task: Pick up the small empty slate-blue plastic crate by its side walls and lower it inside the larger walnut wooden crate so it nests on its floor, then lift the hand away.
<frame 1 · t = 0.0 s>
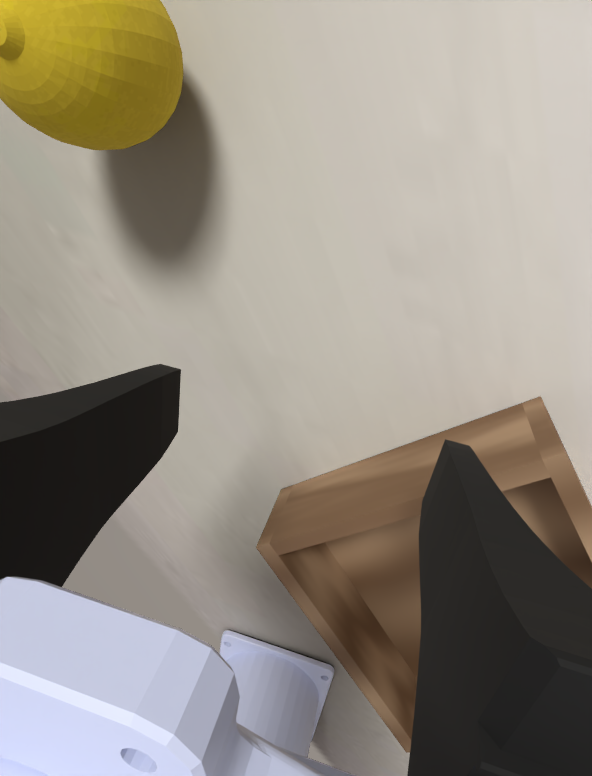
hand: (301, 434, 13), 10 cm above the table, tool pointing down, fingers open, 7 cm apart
big crate: (462, 563, 26), on the table
lemon: (154, 72, 19), on the table
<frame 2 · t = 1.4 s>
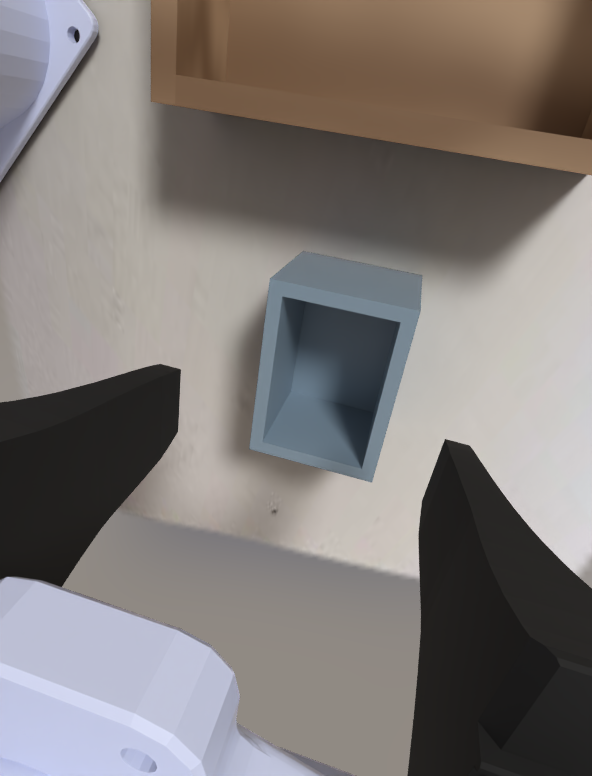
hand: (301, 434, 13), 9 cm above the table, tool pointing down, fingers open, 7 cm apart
small crate: (345, 339, 22), on the table
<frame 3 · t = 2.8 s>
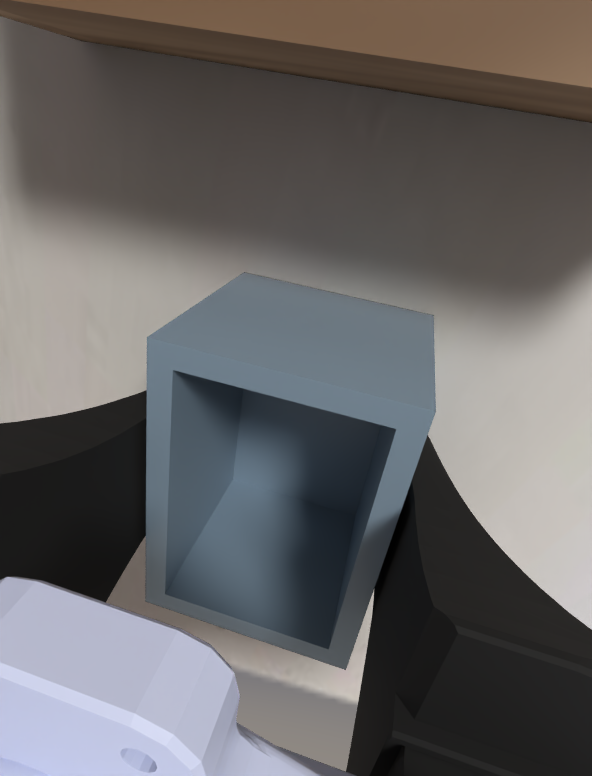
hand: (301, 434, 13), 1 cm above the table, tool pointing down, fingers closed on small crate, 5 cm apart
small crate: (312, 408, 14), on the table, touching gripper
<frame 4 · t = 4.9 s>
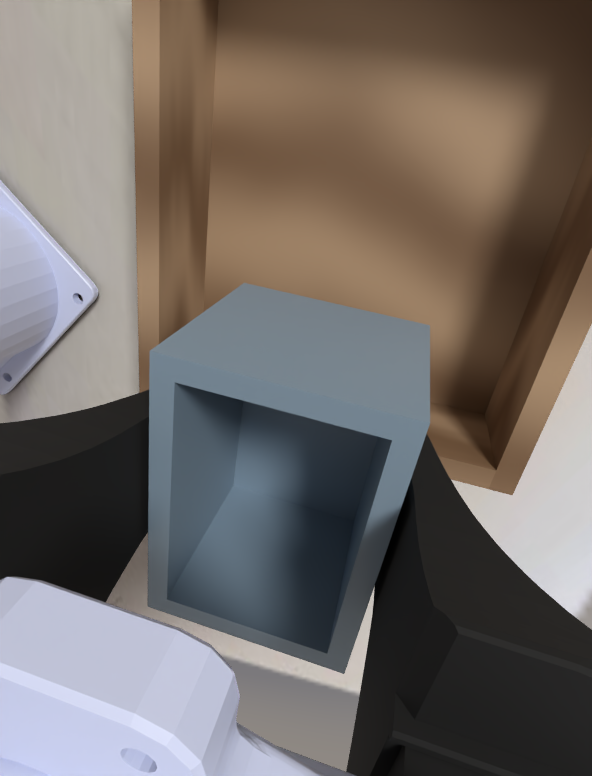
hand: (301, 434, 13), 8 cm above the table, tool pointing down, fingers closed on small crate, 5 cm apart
big crate: (374, 200, 18), on the table
small crate: (311, 415, 14), point 7 cm above the table, touching gripper
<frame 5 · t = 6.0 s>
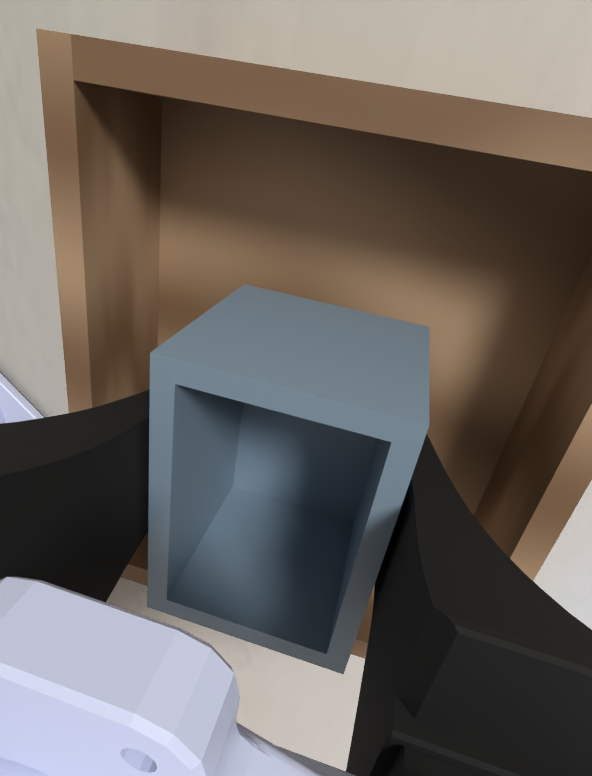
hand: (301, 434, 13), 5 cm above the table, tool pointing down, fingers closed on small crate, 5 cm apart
big crate: (330, 367, 17), on the table
small crate: (311, 416, 14), point 3 cm above the table, touching gripper
when the fingers open (3 cm above the table, at t = 6.8 s): small crate stays where it is, resting on big crate.
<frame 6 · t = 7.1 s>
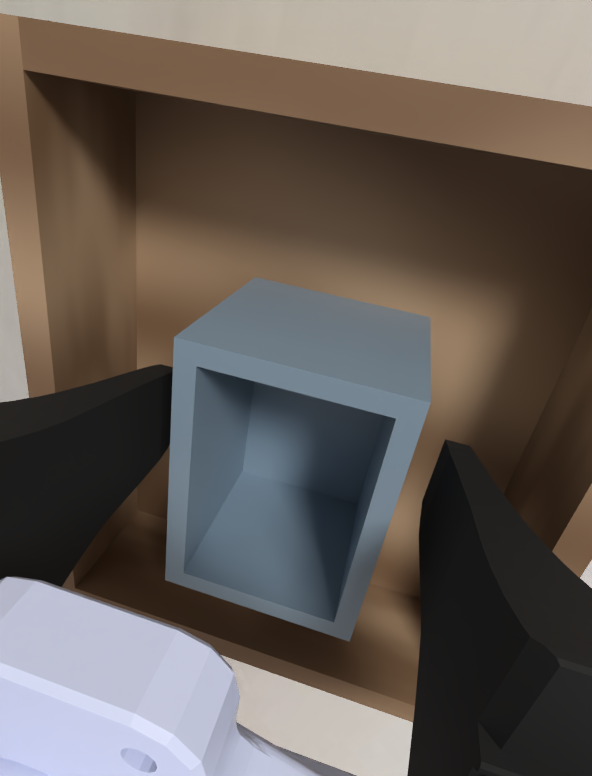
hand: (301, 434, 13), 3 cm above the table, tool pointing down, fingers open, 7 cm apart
big crate: (323, 385, 15), on the table
small crate: (318, 403, 15), point 1 cm above the table, touching big crate
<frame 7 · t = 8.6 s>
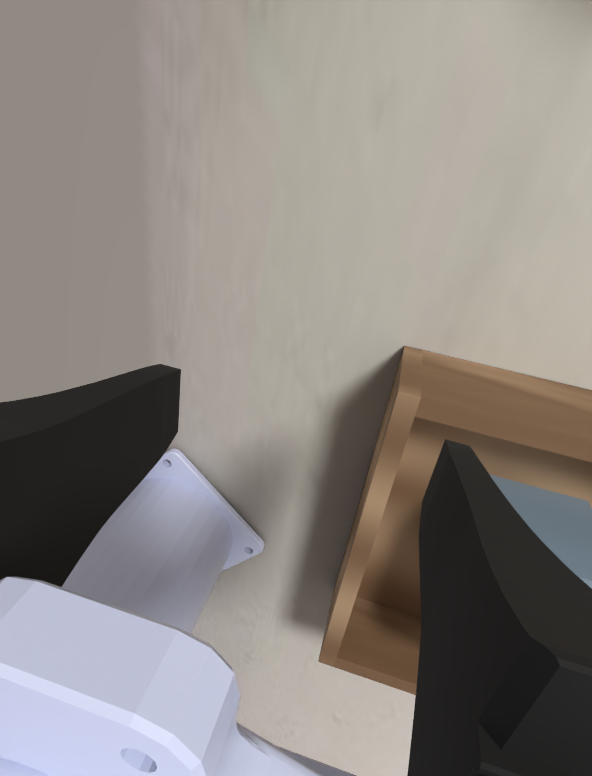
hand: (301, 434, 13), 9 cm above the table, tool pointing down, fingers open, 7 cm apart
big crate: (502, 527, 24), on the table
small crate: (502, 540, 23), point 1 cm above the table, touching big crate
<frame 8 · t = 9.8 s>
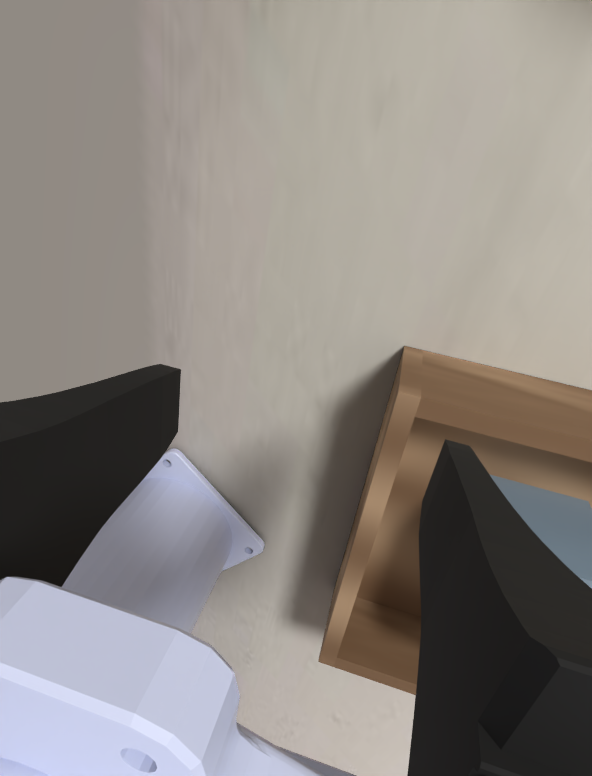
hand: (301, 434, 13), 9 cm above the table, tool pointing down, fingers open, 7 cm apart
big crate: (502, 527, 24), on the table
small crate: (502, 540, 23), point 1 cm above the table, touching big crate
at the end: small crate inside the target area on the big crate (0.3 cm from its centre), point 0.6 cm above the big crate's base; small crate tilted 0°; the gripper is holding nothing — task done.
